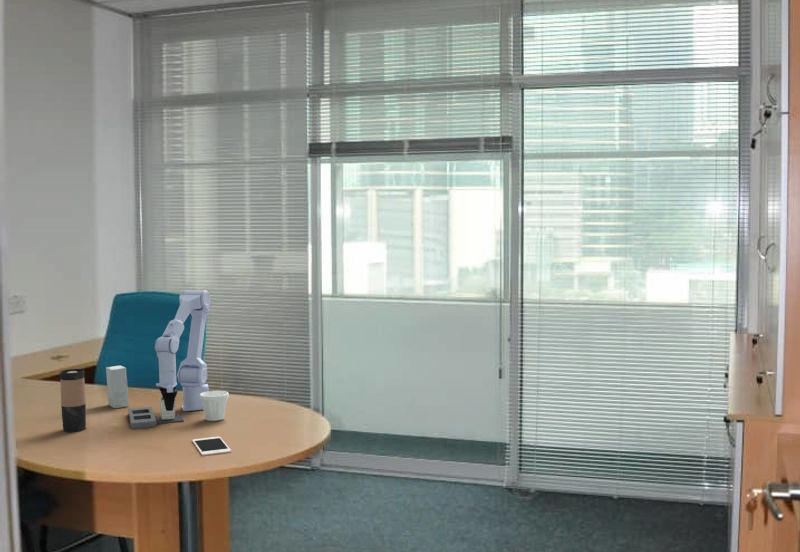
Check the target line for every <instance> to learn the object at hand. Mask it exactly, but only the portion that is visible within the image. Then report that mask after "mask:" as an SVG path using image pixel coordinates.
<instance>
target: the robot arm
mask: <svg viewBox="0 0 800 552" xmlns="http://www.w3.org/2000/svg"><path fill="white" fill-rule="evenodd" d="M178 299H179V306H178V309H177V311H176V314H175V316H174V319H172V320H171V319H170V321H168V324H167V326H166V328H165V330H164V331H163V333H162V336H160V337H158V338H157V339H156V340H155V343H154V350H155V352H156V357H157V358H158V377H159V382H158V383H155V386H156V387H158V389H159V391H160V394H161V397H163V398H164V402H165V407H166V410H167V411H173V407H174V401H175V398H176V397H177V395H178V393H179V392H178V390H176V388H177V387H176V386H178V383H180V386H182V405H181V409H182V411H183V412H191V411H192V412H193V411H199V410H203V406H202V402H201V399H200V394H201V393H203V392H208V391H210V388H209V384H208V383H206V382H207V380H208V364H207V363H206V362H204V360H203V359H202V354H203V353H202V352H203V345H204V336H205V328H206V320H207V314H209V313H210V307H211V299H212V298H211V295H210V293H209V291H208V290H206V289H203V290H198V289H197V290H193V289H191V290H190V289H183V290H182V291H181V293H180V294H179V297H178ZM189 316H191V321H190V322H191V323H190V331H189V339H188V345H187V353H186V354H187V355H186V358H185V359H183V360H182V361H181V362H180V364H179V368H178V370H177V365H176V364H177V361H176V359H177V358H176V353H177V352H178V350H179V347H180V345H179V344H180V338H181V336H182V334H183V332H184V330H185V321H186V320H187V319H188V317H189ZM177 381H178V382H177ZM175 402H176V401H175ZM203 411H204V410H203Z"/></svg>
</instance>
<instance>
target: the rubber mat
mask: <svg viewBox="0 0 800 552" xmlns="http://www.w3.org/2000/svg"><path fill="white" fill-rule="evenodd" d="M155 419H156V425H159V424H160V425H161V424H170V423H173V424H174V423H181V422H184V418H183V416H182V414H175V419H165V420H162V419H161V415H160V416H155Z"/></svg>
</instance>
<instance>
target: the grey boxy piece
mask: <svg viewBox="0 0 800 552" xmlns="http://www.w3.org/2000/svg"><path fill="white" fill-rule="evenodd" d="M159 401H160V416H161V419H162V420H165V419H175V415H176V402H177V398H176V397H175V401H174V407H173V411H167V410H166V407H165V402H164V398H163V396H159Z"/></svg>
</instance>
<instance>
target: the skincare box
mask: <svg viewBox="0 0 800 552" xmlns="http://www.w3.org/2000/svg"><path fill="white" fill-rule="evenodd" d="M105 373H106V375H105V376H106V386H107V387H106V388H107V389H106V390H107V401H108V406H110V407H111V408H113V409H118V408H127V407H129V406H130V404H129V391H128V378H127V375H128V374H127V368H126V367H125V366H122V365H114V366H106V367H105Z"/></svg>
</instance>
